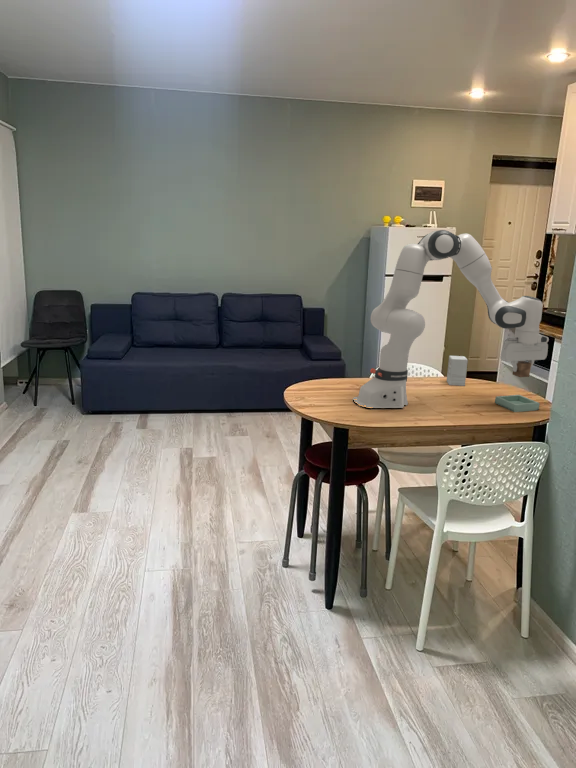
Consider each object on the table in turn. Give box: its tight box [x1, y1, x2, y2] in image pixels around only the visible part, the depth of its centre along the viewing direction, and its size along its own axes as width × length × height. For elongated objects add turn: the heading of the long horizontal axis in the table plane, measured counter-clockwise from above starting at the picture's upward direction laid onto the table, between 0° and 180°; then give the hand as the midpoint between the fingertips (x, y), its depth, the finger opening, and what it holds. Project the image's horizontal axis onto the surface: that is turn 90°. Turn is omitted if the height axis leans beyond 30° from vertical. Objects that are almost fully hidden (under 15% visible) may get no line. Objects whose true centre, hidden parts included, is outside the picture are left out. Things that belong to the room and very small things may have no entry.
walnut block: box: [512, 361, 532, 378], centre depth 234 cm, size 4×4×6 cm
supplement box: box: [446, 355, 469, 387], centre depth 268 cm, size 7×7×13 cm
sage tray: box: [494, 394, 541, 413], centre depth 237 cm, size 12×12×3 cm
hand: (521, 371), depth 234 cm, fingers closed on walnut block, 4 cm apart
